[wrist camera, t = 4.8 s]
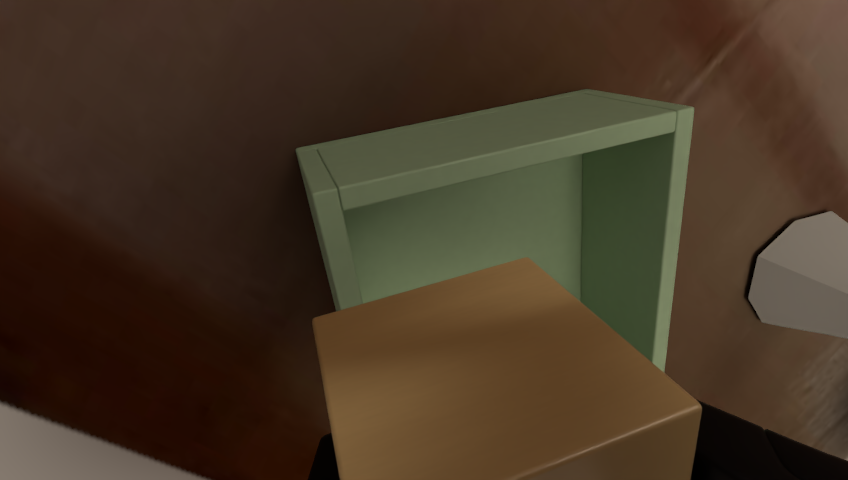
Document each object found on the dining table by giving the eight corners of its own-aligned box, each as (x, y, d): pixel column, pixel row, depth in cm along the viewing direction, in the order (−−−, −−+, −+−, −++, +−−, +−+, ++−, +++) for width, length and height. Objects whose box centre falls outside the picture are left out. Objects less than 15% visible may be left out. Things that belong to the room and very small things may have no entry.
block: (357, 478, 11) (413, 734, 7) (310, 316, 9) (350, 545, 5) (535, 413, 12) (672, 605, 8) (527, 254, 10) (706, 405, 6)
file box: (294, 147, 17) (311, 194, 13) (587, 88, 20) (695, 106, 15) (358, 400, 23) (388, 502, 18) (583, 325, 26) (662, 396, 21)
